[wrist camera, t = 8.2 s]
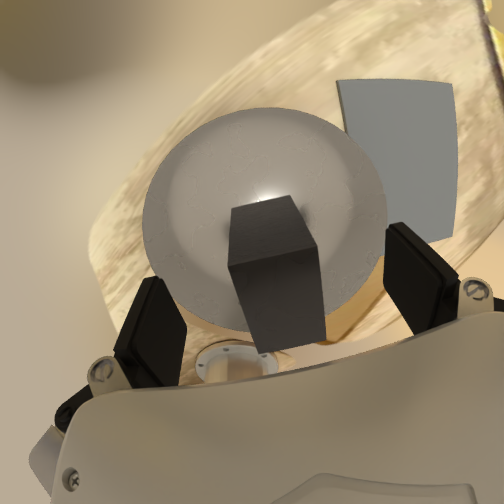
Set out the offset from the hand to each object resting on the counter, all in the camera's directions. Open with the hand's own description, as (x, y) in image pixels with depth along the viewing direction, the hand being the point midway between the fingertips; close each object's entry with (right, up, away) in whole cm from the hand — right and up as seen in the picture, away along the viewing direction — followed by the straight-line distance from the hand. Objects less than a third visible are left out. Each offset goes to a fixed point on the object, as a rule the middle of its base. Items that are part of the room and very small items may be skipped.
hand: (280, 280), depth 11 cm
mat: (+16, +10, +14) cm, 24 cm away
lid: (0, +2, +4) cm, 5 cm away
